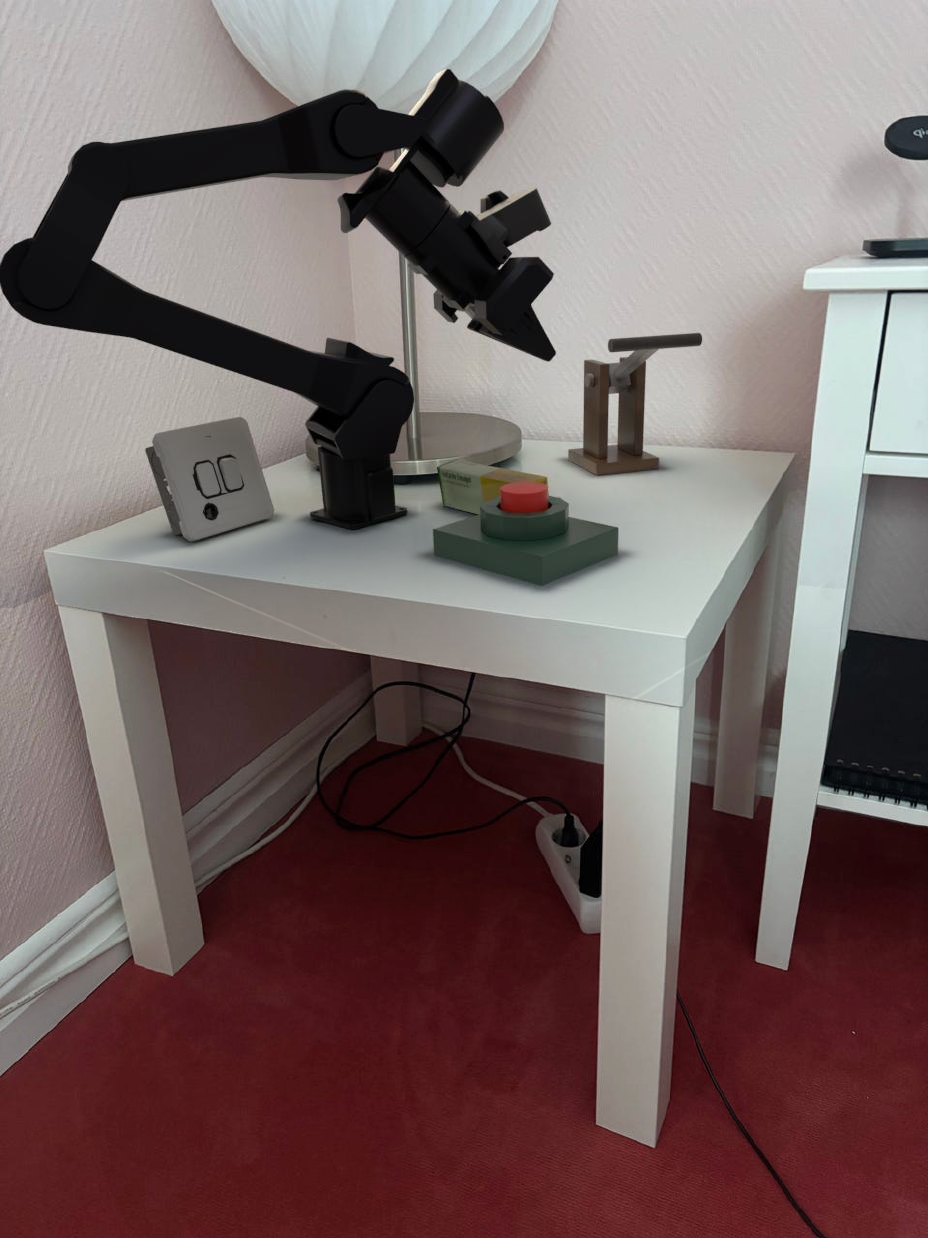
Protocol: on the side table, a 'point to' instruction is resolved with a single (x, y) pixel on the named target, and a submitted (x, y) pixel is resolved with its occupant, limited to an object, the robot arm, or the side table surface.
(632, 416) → the bracket
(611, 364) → the lever
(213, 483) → the electrical switch
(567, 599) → the side table surface
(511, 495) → the button
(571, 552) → the button box
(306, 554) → the side table surface
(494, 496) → the medication box
